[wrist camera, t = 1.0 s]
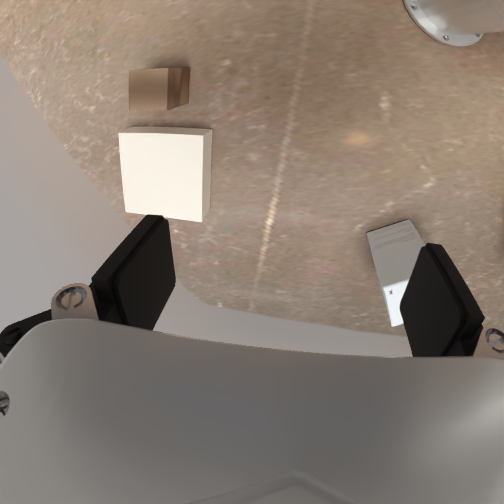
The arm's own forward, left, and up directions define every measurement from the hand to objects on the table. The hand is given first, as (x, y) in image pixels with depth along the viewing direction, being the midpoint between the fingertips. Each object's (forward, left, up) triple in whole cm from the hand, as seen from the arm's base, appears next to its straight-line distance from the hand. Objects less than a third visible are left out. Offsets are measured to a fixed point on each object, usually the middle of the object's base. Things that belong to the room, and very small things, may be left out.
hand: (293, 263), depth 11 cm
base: (+8, -17, -30) cm, 36 cm away
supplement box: (+15, +17, -30) cm, 38 cm away
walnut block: (-4, -17, -30) cm, 35 cm away
